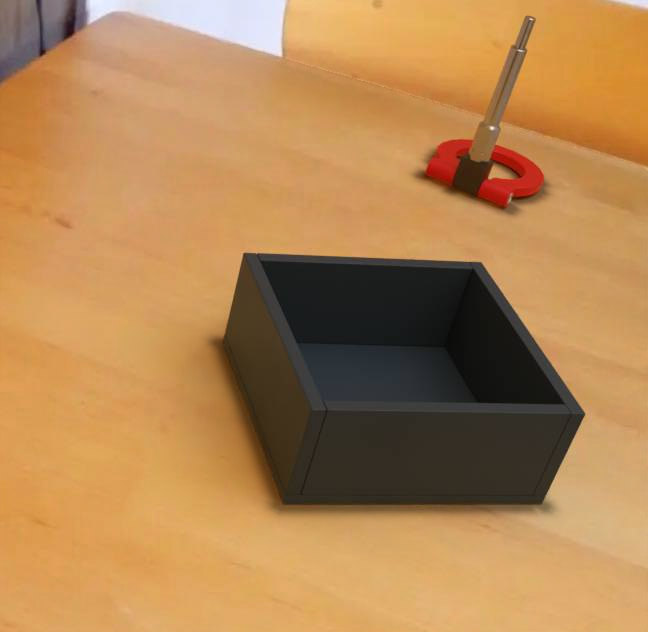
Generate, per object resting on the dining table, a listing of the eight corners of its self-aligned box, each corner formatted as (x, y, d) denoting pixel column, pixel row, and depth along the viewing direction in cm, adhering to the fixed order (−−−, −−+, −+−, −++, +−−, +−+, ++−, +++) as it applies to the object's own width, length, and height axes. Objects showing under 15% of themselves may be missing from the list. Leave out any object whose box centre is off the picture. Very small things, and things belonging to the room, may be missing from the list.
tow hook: (455, 143, 102) (411, 173, 96) (514, -22, 94) (470, -1, 87) (552, 181, 99) (513, 216, 93) (622, 15, 91) (585, 40, 84)
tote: (448, 348, 78) (481, 261, 74) (542, 504, 67) (586, 413, 63) (222, 342, 75) (243, 251, 71) (283, 504, 65) (311, 409, 60)
